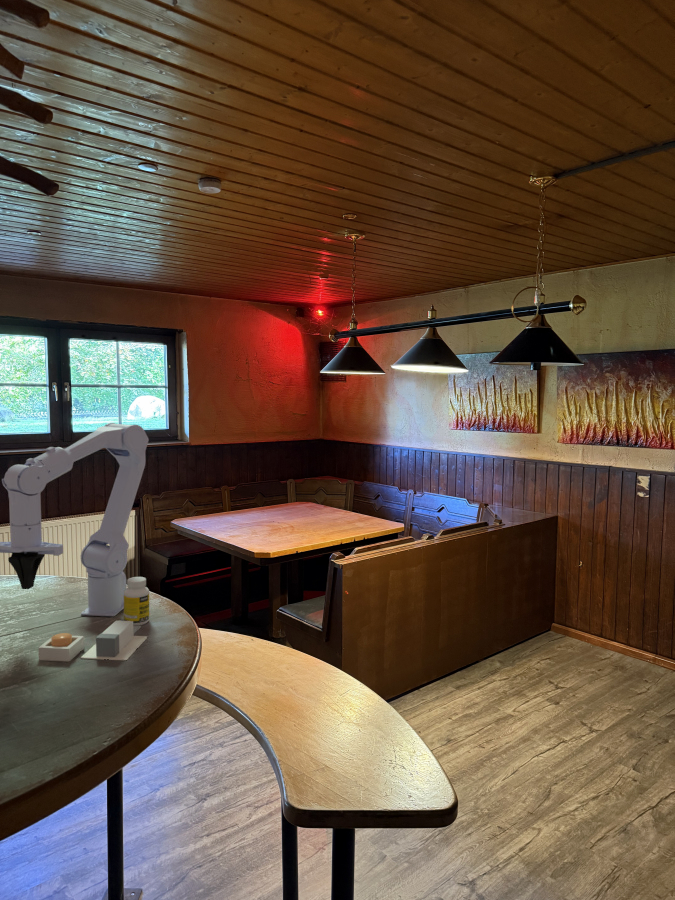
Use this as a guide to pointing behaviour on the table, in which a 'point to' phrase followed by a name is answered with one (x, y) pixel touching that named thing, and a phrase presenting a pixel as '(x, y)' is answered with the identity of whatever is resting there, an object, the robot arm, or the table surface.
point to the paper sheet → (122, 655)
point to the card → (135, 628)
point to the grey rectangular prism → (114, 638)
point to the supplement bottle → (136, 601)
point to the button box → (61, 650)
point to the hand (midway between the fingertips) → (27, 587)
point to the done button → (62, 640)
